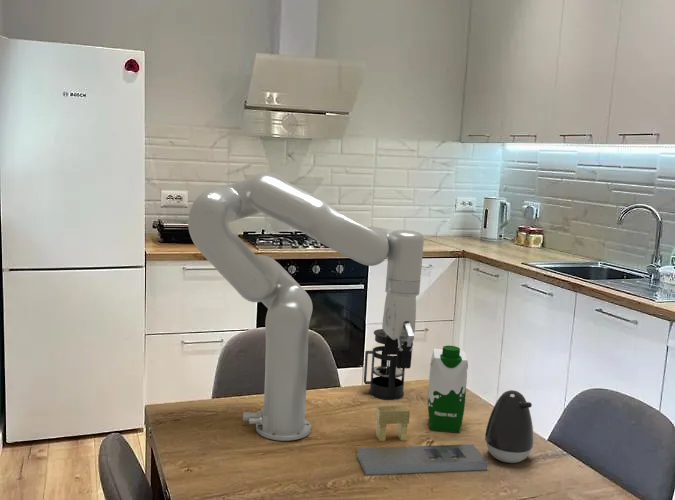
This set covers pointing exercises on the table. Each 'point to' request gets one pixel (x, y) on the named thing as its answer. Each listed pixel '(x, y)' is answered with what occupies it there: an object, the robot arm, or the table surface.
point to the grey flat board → (420, 459)
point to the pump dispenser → (510, 428)
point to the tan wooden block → (392, 420)
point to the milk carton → (447, 389)
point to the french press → (384, 372)
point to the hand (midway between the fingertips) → (396, 360)
